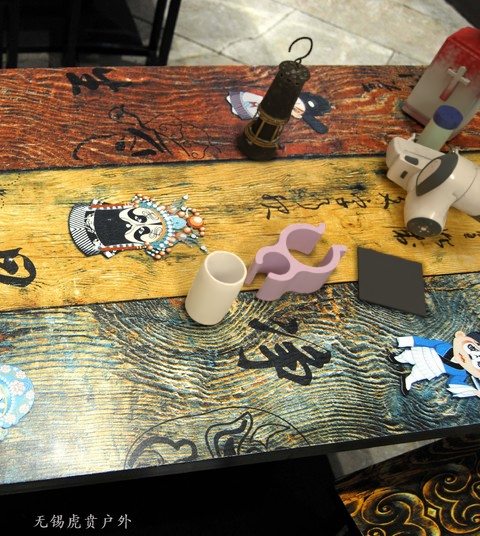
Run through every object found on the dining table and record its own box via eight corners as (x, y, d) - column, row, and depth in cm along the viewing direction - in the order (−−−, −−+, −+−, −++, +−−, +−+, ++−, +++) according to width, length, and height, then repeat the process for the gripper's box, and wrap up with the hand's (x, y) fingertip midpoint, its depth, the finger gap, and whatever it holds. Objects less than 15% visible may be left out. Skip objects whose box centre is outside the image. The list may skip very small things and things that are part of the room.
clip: (270, 313, 143) (283, 293, 138) (231, 267, 149) (242, 246, 143) (341, 277, 152) (356, 257, 146) (302, 234, 157) (315, 213, 152)
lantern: (277, 163, 169) (332, 57, 146) (239, 158, 168) (288, 51, 145) (272, 135, 175) (324, 29, 151) (235, 131, 174) (281, 23, 150)
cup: (180, 324, 139) (201, 281, 127) (182, 289, 144) (203, 244, 133) (224, 333, 139) (249, 291, 128) (225, 297, 144) (248, 253, 133)
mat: (420, 264, 157) (421, 263, 157) (425, 317, 149) (426, 316, 148) (357, 247, 157) (358, 246, 157) (358, 299, 149) (359, 298, 149)
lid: (456, 115, 173) (461, 108, 172) (459, 132, 170) (464, 125, 168) (431, 109, 173) (436, 102, 172) (433, 126, 170) (438, 118, 168)
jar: (433, 147, 181) (460, 110, 172) (435, 163, 178) (463, 126, 168) (410, 141, 181) (436, 104, 172) (411, 157, 178) (438, 120, 168)
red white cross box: (396, 111, 188) (462, 9, 164) (417, 97, 193) (484, -4, 169) (444, 145, 182) (519, 45, 158) (464, 130, 187) (540, 30, 163)
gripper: (482, 188, 162) (484, 149, 170) (392, 154, 164) (399, 118, 172) (466, 206, 167) (469, 167, 175) (379, 174, 169) (386, 137, 177)
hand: (434, 142), depth 174 cm, fingers open, 8 cm apart
